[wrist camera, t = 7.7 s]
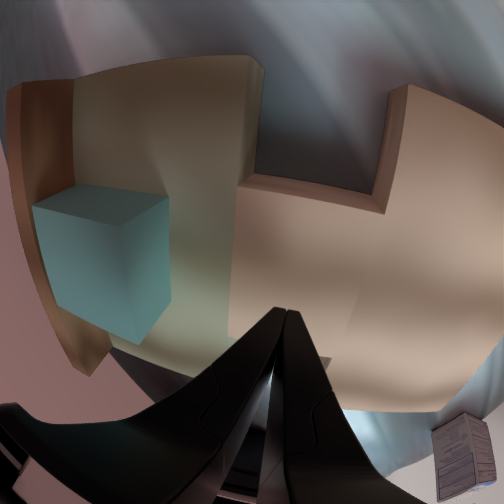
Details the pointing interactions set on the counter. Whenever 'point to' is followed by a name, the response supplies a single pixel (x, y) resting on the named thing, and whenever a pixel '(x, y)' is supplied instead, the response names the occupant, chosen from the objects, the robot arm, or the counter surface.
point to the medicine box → (462, 458)
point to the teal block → (107, 256)
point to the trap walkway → (280, 226)
